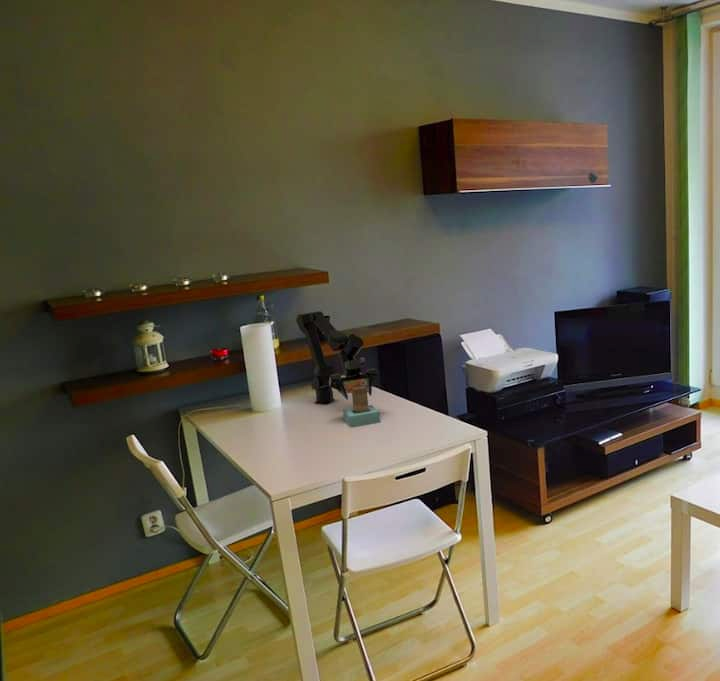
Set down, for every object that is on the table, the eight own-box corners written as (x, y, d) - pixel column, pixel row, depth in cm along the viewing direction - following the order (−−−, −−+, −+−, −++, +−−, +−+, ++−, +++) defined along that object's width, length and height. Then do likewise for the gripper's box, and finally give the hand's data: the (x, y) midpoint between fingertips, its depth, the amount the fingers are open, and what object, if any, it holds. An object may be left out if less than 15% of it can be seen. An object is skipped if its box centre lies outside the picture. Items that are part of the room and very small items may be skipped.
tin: (337, 392, 272) (335, 374, 270) (339, 391, 275) (337, 372, 273) (370, 392, 268) (368, 374, 267) (371, 390, 271) (370, 372, 270)
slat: (354, 420, 231) (351, 387, 228) (366, 418, 232) (364, 385, 230) (356, 423, 228) (353, 389, 225) (369, 420, 229) (366, 387, 227)
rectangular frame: (344, 419, 233) (343, 409, 232) (372, 415, 236) (371, 405, 235) (350, 427, 224) (349, 416, 223) (380, 421, 227) (379, 411, 226)
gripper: (327, 354, 228) (337, 389, 220) (375, 347, 233) (386, 382, 225) (324, 370, 237) (334, 404, 229) (370, 363, 242) (381, 397, 234)
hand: (359, 397), depth 229 cm, fingers open, 9 cm apart
